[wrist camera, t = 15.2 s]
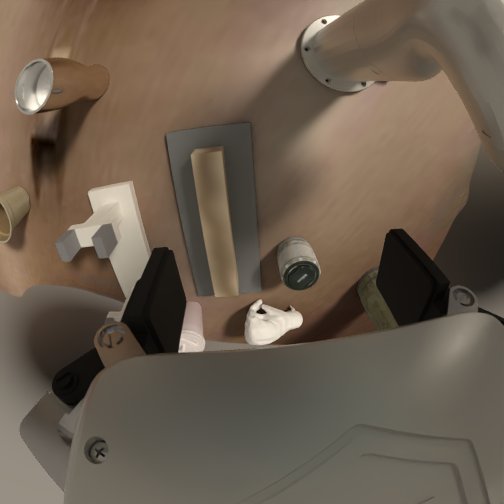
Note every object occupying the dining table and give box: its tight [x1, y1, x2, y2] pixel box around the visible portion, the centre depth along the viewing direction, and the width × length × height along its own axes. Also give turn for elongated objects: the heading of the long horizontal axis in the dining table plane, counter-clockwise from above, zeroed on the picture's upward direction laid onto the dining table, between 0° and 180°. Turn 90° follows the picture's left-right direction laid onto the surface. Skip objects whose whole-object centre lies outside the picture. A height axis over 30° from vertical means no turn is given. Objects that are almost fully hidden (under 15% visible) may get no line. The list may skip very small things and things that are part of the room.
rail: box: [191, 146, 239, 297], centre depth 41 cm, size 4×24×4 cm, turn 4°
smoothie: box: [178, 301, 205, 353], centre depth 48 cm, size 6×6×14 cm
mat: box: [166, 123, 262, 296], centre depth 43 cm, size 12×30×1 cm, turn 4°
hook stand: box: [55, 181, 151, 326], centre depth 40 cm, size 8×25×14 cm, turn 4°
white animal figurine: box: [244, 299, 303, 345], centre depth 51 cm, size 6×8×12 cm
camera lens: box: [277, 237, 321, 290], centre depth 44 cm, size 6×6×8 cm
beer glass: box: [14, 58, 110, 115], centre depth 23 cm, size 7×7×15 cm
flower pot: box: [0, 187, 30, 243], centre depth 34 cm, size 9×9×9 cm
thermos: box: [357, 267, 399, 331], centre depth 38 cm, size 9×12×35 cm
